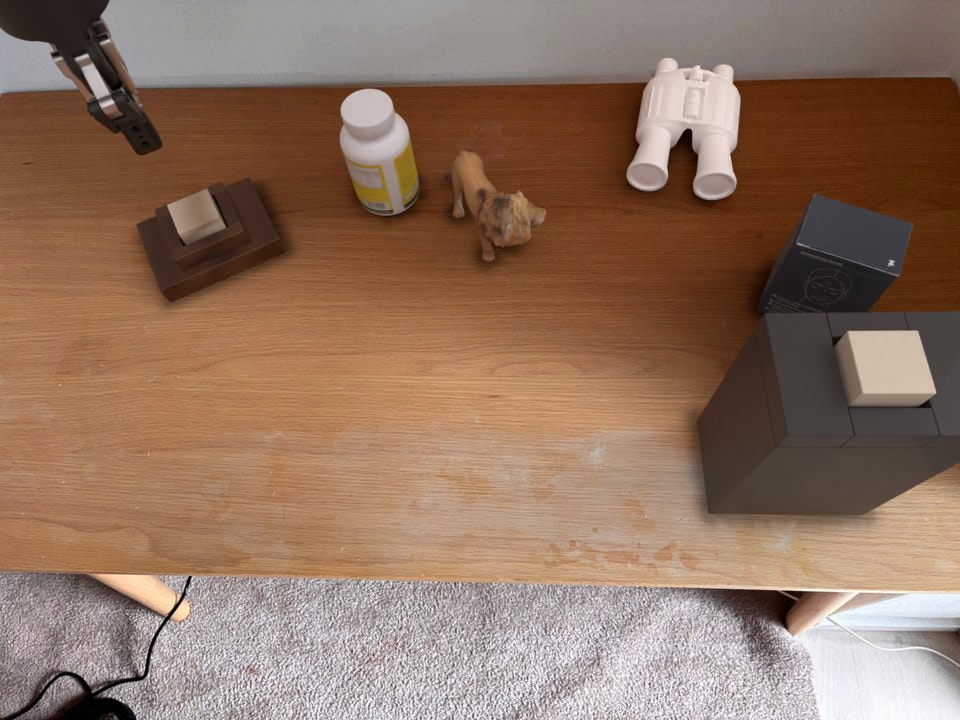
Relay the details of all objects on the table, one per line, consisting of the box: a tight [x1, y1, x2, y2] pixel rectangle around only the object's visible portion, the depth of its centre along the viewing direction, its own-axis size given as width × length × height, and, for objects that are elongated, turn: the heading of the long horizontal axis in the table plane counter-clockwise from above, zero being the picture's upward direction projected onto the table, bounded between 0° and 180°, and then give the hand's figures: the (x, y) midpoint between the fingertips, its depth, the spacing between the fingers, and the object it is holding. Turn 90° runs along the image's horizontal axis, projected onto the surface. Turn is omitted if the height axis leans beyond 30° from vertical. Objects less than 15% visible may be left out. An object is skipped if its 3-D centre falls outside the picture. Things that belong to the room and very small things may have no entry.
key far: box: [167, 188, 226, 245], centre depth 65 cm, size 4×4×2 cm
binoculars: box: [626, 57, 742, 201], centre depth 70 cm, size 10×16×5 cm, turn 167°
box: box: [756, 193, 914, 315], centre depth 58 cm, size 8×6×11 cm
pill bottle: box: [339, 88, 420, 217], centre depth 66 cm, size 6×6×12 cm
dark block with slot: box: [696, 311, 960, 516], centre depth 48 cm, size 12×8×18 cm, turn 89°
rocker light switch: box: [135, 176, 286, 303], centre depth 67 cm, size 12×9×4 cm
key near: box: [834, 331, 936, 407], centre depth 40 cm, size 4×4×2 cm
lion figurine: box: [443, 150, 547, 262], centre depth 64 cm, size 15×5×9 cm, turn 35°
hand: (149, 146), depth 56 cm, fingers closed
